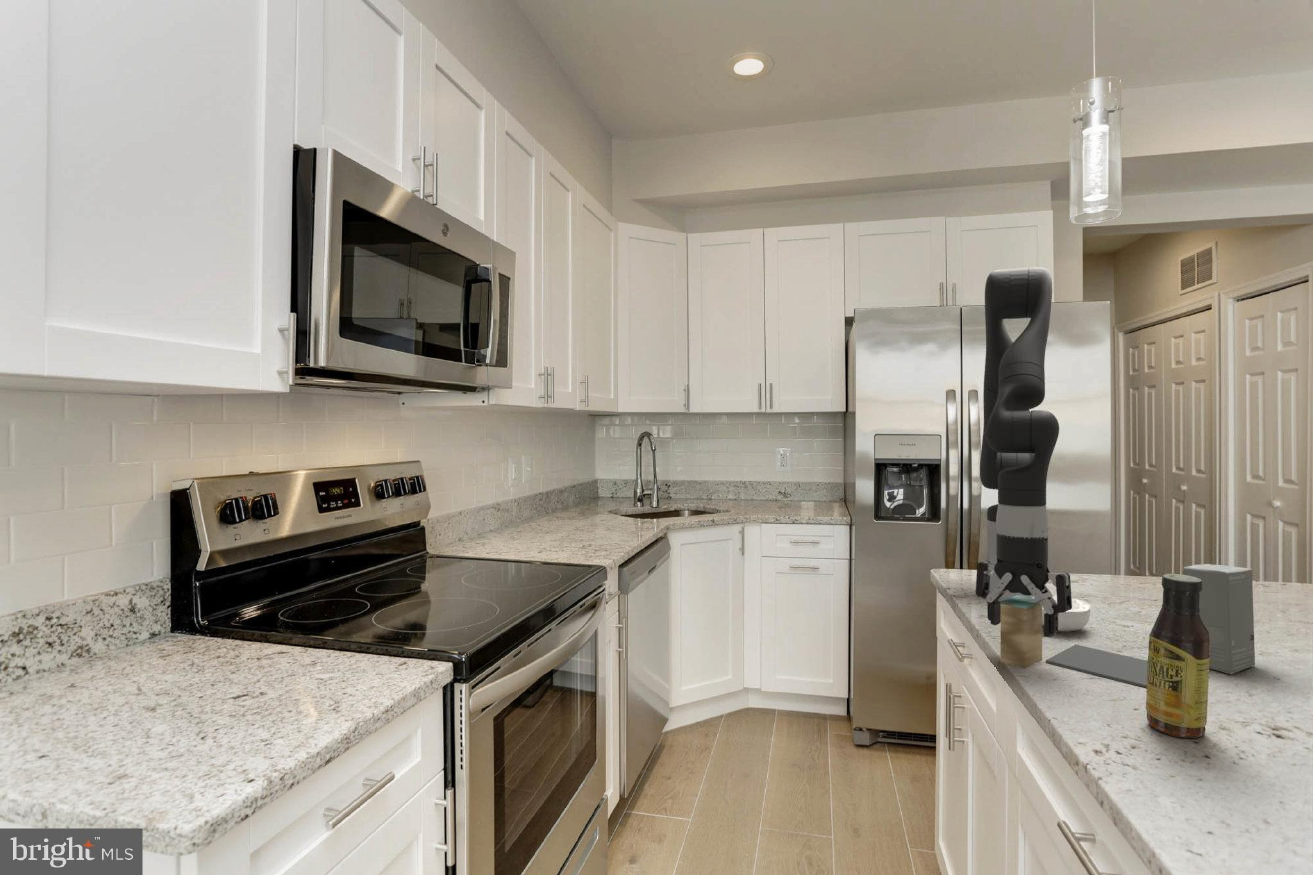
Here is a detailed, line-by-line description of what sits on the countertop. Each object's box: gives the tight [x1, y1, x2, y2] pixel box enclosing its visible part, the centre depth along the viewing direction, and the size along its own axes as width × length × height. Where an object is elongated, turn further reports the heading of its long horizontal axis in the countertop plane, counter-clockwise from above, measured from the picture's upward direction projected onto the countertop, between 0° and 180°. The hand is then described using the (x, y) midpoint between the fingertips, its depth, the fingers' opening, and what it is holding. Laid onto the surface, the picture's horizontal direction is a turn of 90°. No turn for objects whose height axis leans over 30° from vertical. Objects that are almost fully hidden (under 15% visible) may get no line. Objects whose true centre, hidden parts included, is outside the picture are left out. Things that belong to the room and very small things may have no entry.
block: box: [1000, 595, 1043, 669], centre depth 113 cm, size 4×6×10 cm, turn 129°
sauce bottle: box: [1145, 573, 1210, 739], centre depth 88 cm, size 7×6×20 cm
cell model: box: [1033, 594, 1092, 632], centre depth 130 cm, size 10×12×7 cm
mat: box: [1045, 644, 1148, 689], centre depth 110 cm, size 16×12×1 cm
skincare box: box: [1182, 563, 1256, 675], centre depth 111 cm, size 8×7×16 cm
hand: (1021, 629), depth 113 cm, fingers open, 8 cm apart
